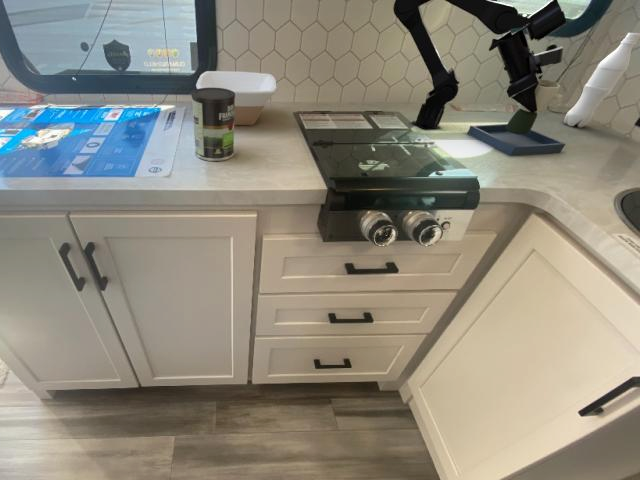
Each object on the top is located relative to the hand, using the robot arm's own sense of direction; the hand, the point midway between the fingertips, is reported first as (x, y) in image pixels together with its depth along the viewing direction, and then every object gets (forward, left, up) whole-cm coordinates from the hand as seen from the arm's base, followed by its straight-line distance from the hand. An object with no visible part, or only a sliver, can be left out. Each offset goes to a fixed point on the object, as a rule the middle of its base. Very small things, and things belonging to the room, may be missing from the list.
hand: (536, 108), depth 96 cm
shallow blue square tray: (-1, +1, -9) cm, 9 cm away
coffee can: (-91, +6, -10) cm, 91 cm away
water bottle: (+35, +12, -10) cm, 38 cm away
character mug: (-1, +2, -7) cm, 7 cm away
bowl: (-79, +33, -10) cm, 86 cm away
